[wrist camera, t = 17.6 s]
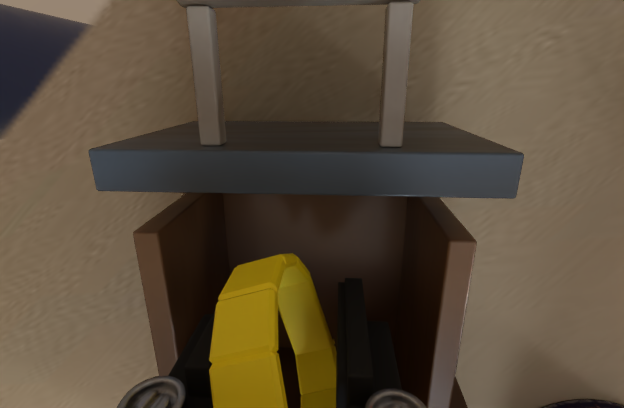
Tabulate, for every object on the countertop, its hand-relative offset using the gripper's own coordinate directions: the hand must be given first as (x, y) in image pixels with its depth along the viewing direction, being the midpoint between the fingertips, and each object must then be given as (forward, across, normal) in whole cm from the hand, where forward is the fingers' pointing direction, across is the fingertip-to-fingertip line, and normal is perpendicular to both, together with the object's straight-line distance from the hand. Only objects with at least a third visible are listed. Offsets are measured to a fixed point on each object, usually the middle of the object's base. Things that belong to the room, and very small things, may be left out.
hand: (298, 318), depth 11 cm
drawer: (+7, 0, -2) cm, 7 cm away
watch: (+1, 0, 0) cm, 1 cm away
